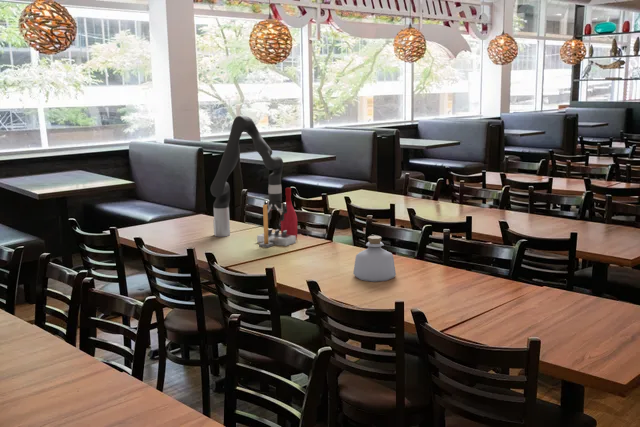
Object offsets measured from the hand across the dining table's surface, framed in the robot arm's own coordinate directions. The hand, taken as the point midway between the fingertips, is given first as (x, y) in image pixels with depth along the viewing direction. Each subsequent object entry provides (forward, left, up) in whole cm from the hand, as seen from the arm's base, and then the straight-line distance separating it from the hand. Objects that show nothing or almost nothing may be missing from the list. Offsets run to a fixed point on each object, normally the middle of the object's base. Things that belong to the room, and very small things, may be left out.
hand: (275, 220), depth 378 cm
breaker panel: (0, 0, -13) cm, 13 cm away
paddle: (-3, +4, -9) cm, 10 cm away
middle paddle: (0, 0, -9) cm, 9 cm away
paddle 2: (+3, -4, -9) cm, 10 cm away
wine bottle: (+11, +8, -13) cm, 19 cm away
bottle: (+23, -84, -13) cm, 88 cm away
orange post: (-8, -6, -13) cm, 16 cm away
